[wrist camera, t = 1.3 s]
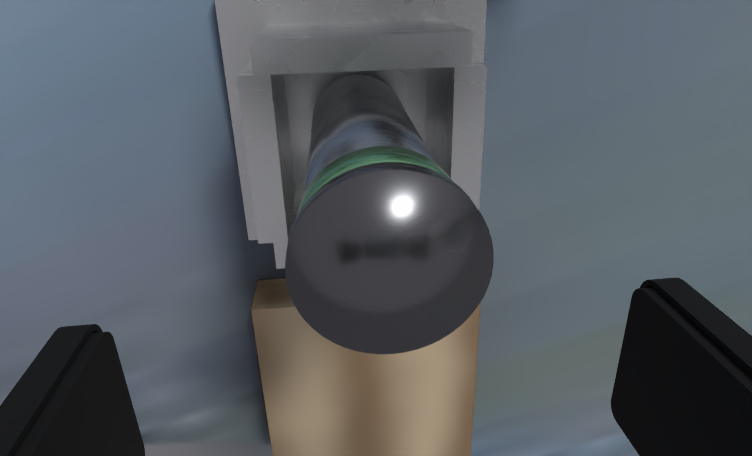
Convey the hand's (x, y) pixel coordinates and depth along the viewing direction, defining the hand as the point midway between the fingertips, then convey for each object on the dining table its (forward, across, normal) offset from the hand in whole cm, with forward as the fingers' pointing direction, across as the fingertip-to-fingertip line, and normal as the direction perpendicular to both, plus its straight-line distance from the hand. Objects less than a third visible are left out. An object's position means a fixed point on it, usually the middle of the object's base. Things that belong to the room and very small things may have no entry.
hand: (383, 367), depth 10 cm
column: (+18, -1, 0) cm, 18 cm away
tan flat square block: (+19, -1, +15) cm, 24 cm away
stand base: (+19, -1, 0) cm, 19 cm away
